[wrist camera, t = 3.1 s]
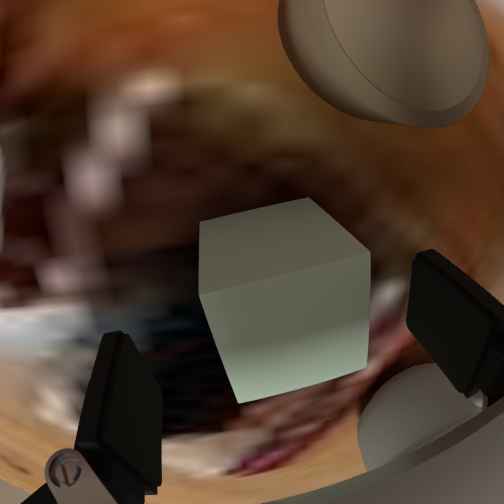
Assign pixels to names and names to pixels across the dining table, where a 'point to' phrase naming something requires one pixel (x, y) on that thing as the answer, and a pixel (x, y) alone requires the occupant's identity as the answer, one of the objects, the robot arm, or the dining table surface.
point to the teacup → (411, 414)
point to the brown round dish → (389, 56)
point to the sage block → (284, 297)
